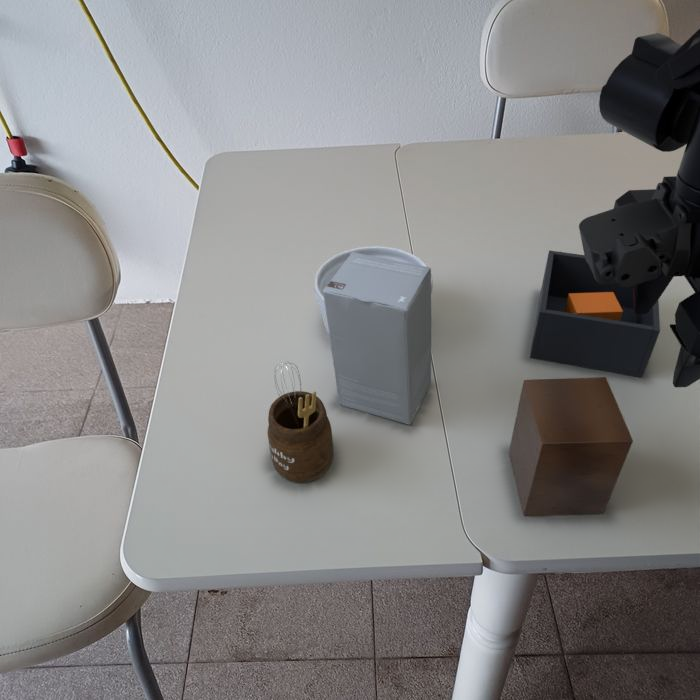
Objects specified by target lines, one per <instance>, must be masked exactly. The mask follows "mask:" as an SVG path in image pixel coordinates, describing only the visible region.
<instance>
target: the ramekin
mask: <svg viewBox="0 0 700 700" xmlns="http://www.w3.org/2000/svg"><path fill="white" fill-rule="evenodd" d="M352 252H355V253H360V254H365V255H370V256H374V257H379V258H384V259H389V260H394V261H399V262H404V263H409V264H414V265H419V266H424V267H429V266H428V265H427V264H426V263H425V262H424V261H423V260H422V259H421V258H420V257H418V256H417V255H415V254H413V253H411V252H408V251H406V250H403V249H400V248H396V247H392V246H391V247H390V246H379V245H372V246H370V245H369V246H360V247H356V248H351V249H347V250H345V251H342V252H338V253H337V254H335V255H333V256H331V257H330V258H328V259H327V260H326V261H325V262H323V264H321V266H319V268H318V270H317V271H316V274H315V276H314V280H313V282H314V283H313V284H314V295H315V298H316V301H317V303H318V304H319V309H320V312H321V317H322V320H323V324H324V327H325V329H326V331H327V334H329V327H328V321H327V314H326V307H325V301H324V295H323V290H324V289H325V287H326V286H327V285H328V283H329V282H330V281H331V279H332V278H333V277H334V275H335V274H336V273H337V272H338V270H339V269H340V268H341V266H342V265H343V264H344V262H345V261H346V260H347V258H348V257H349V256H350V254H351V253H352ZM432 294H433V274H432V273H431V295H432Z"/></svg>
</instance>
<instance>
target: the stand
mask: <svg viewBox="0 0 700 700" xmlns="http://www.w3.org/2000/svg"><path fill="white" fill-rule="evenodd" d="M512 430H513V431H512V433H511V439H510V444H509V445H510V446H509V449H508V456H509V460H510V465H511V469H512V472H513V473H512V474H513V477H514V481H515V486H516V490H517V494H518V498H519V502H520V507H521V510H522V516H524V517H537V516H539V517H540V516H541V517H542V516H570V515H571V516H572V515H576V516H577V515H604V514H605V511H606V508H607V506H608V505H609V501H610V499H611V496H612V494H613V491H614V489H615V487H616V484H617V482H618V479H619V477H620V474H621V472H622V469H623V467H624V466H625V465H624V464H625V462H626V459H627V457H628V454H629V452H630V449H631V447H632V444H633V442H634V439H633V436H632V434H631V433H630V430H629V428H628V426H627V423H626V420H625V418H624V416H623V414H622V411H621V409H620V406H619V404H618V402H617V400H616V398H615V395H614V393H613V391H612V388H611V385H610V384H609V381H608V379H607V377H606V376H602V377H601V376H600V377H598V376H597V377H596V376H595V377H569V378H567V377H566V378H540V379H539V378H538V379H523V382H522V387H521V392H520V396H519V402H518V406H517V411H516V415H515V420H514V425H513V429H512Z"/></svg>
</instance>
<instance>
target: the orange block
mask: <svg viewBox="0 0 700 700" xmlns="http://www.w3.org/2000/svg"><path fill="white" fill-rule="evenodd" d="M564 312H566V313H572V314H579V315H585V316H591V317H598V318H604V319H610V320H617V321H620V320H621V317H622V314H623V310H622V308H621V306H620V304H619V302H618V300H617V298H616V296H615V294H614V292H597V293H569V294H568V298H567V303H566V307H565V311H564Z"/></svg>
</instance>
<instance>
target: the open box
mask: <svg viewBox="0 0 700 700" xmlns="http://www.w3.org/2000/svg"><path fill="white" fill-rule="evenodd" d="M540 288H541V289H540V292H539V298H538V303H537V304H538V305H537V310H536V317H535V324H534V329H533V336H532V340H531V341H532V342H531V349H530V354H529V358H530V359H535V360H541V361H545V362H552V363H557V364H563V365H569V366H575V367H579V368H585V369H591V370H595V371H597V370H598V371H602V372H608V373H612V374H613V373H614V374H620V375H625V376H631V377H637V378H643V377H644V374H645V372H646V369H647V367H648V364H649V361H650V359H651V357H652V353H653V351H654V348H655V345H656V343H657V340H658V338H659V335H660V333H661V322H660V320H661V319H660V305H659V304H660V303H659V300H658V301H657V302H656V304H655V305H654V306H653V307H652V309H651V310H650V311H649V312H648V313H647V314H639V315H637V314H636V313H635V312H634V292H633V286H630V287H622V286H619V285H618V283H616V284H612V285H601V284H599V283H598V282H597V281H596V280H595V278H594V275H593V273H592V271H591V269H590V266H589V264H588V262H586V259H585V255H584V254H579V253H572V252H565V251H564V252H563V251H556V250H548V253H547V259H546V263H545V268H544V273H543V278H542V283H541V287H540ZM597 292H614V294H615V296H616V298H617V300H618V302H619V304H620V306H621V308H622V310H623V314H622V317H621V320H620V321H617V320H610V319H604V318H598V317H591V316H585V315H579V314H572V313H566V312H564V311H565V307H566V303H567V298H568V294H569V293H597Z"/></svg>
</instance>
